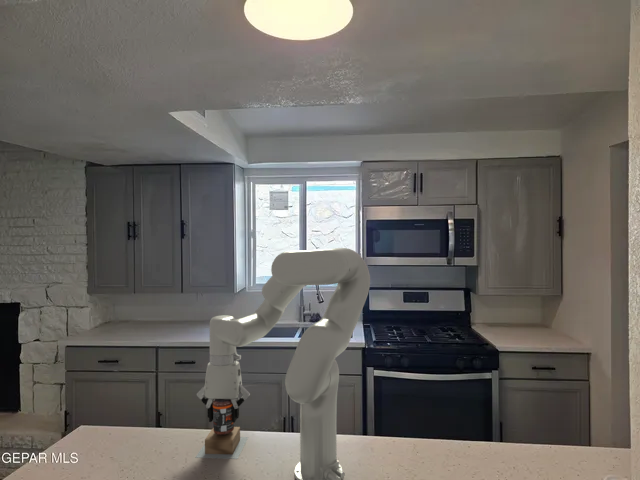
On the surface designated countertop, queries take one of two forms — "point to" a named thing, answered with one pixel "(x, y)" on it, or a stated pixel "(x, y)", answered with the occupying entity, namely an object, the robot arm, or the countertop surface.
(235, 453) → the base plate
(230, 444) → the walnut block
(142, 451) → the countertop surface
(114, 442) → the countertop surface
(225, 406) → the supplement bottle
